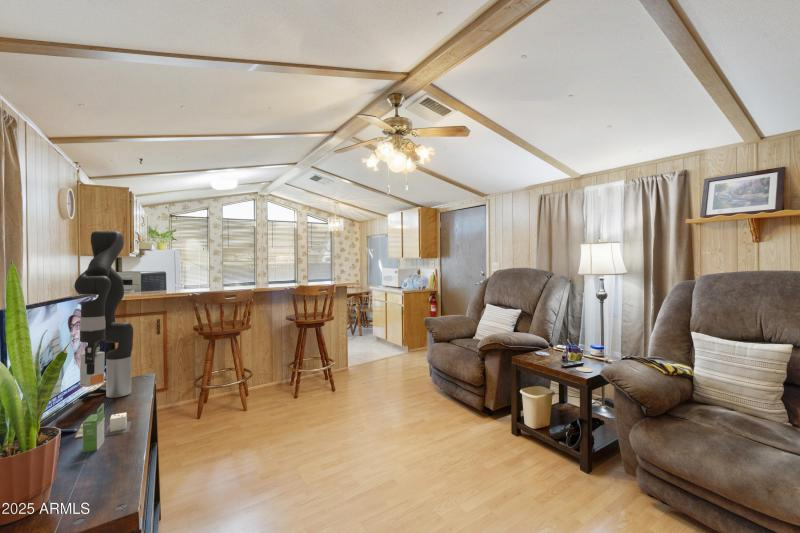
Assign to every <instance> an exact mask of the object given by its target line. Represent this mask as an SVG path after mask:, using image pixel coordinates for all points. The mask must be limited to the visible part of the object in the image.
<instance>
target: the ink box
mask: <svg viewBox="0 0 800 533" xmlns="http://www.w3.org/2000/svg"><path fill="white" fill-rule="evenodd" d="M104 407H105V403H104V402H103V403H102V404H101V405H100V406H99V407H98V408H97V409H96V413H95V414H89V415H88V417H87V418H86V419H85V420H84V421H82V422H83V438H82V453H89V452H95V451H98V450H99V449H100V448H101V447H102V445H103V443H104V442H105V423H104V418H105V412H104V411H105V410H104V409H105V408H104Z"/></svg>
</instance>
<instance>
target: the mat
mask: <svg viewBox="0 0 800 533" xmlns="http://www.w3.org/2000/svg"><path fill="white" fill-rule="evenodd" d="M131 424H132V421H131V420H130V421H127V425H126V429H122V430H116V431H111V432H110V424H108V425H107V428H106V431H105V432H104V437H107V436H113V435H119V434H123V433H125V434H126V433H129V432H130V429H131Z"/></svg>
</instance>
